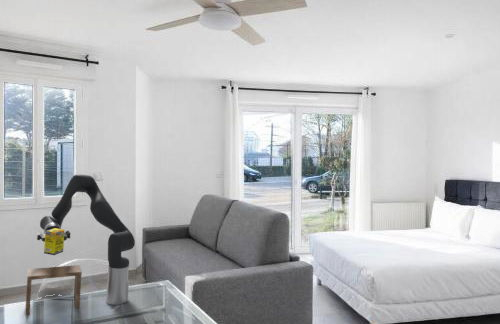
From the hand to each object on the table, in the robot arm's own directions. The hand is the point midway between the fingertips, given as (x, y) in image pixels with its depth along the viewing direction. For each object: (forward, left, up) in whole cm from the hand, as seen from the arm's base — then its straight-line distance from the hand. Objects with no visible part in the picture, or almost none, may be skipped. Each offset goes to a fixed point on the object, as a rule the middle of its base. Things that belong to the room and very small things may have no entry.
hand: (54, 239), depth 178 cm
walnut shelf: (0, +11, -28) cm, 30 cm away
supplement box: (0, 0, -7) cm, 7 cm away
